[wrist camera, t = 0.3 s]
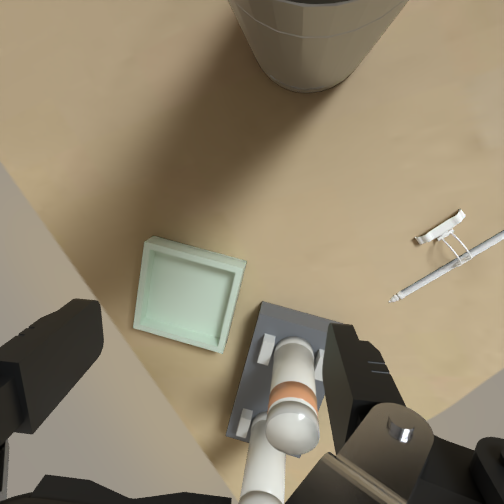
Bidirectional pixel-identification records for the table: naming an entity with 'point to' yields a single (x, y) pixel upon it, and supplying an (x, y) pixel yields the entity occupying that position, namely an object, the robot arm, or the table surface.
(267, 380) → the fuse holder
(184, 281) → the tray
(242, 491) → the plain fuse
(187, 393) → the table surface
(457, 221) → the picture light
